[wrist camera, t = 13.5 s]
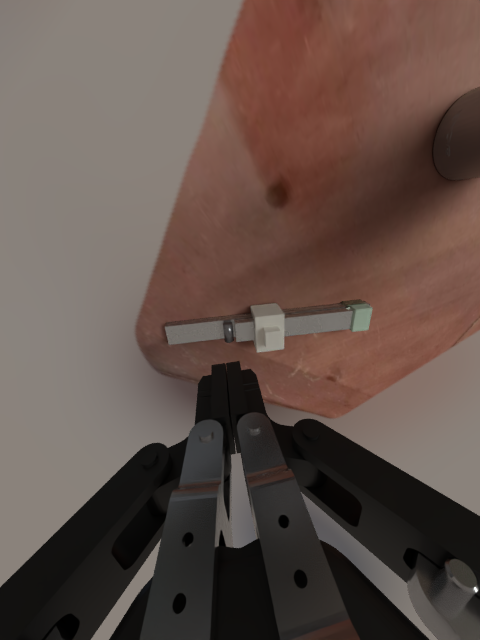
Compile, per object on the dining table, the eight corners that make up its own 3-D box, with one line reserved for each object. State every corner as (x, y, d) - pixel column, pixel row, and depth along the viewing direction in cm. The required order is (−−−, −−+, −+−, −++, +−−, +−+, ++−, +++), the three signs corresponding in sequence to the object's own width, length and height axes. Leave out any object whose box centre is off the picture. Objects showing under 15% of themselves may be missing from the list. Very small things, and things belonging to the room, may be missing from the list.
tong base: (170, 341, 36) (167, 352, 33) (166, 320, 34) (162, 330, 31) (360, 319, 38) (372, 327, 35) (364, 298, 36) (377, 306, 34)
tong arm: (235, 339, 35) (236, 345, 33) (233, 318, 33) (235, 323, 32) (362, 325, 36) (368, 329, 35) (365, 303, 35) (372, 307, 33)
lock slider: (252, 338, 37) (258, 358, 32) (250, 305, 34) (257, 322, 29) (276, 335, 37) (287, 355, 32) (276, 303, 35) (288, 318, 30)
